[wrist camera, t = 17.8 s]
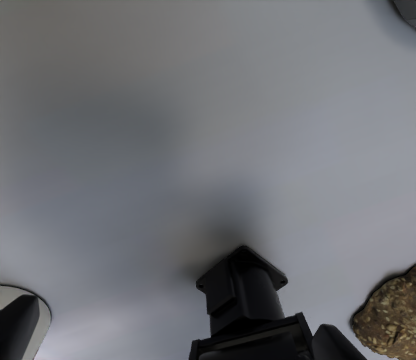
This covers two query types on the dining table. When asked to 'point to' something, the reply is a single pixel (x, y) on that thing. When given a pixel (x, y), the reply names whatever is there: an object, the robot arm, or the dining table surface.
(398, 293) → the bread roll
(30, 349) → the milk bottle
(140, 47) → the dining table surface
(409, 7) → the pan
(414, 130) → the dining table surface
